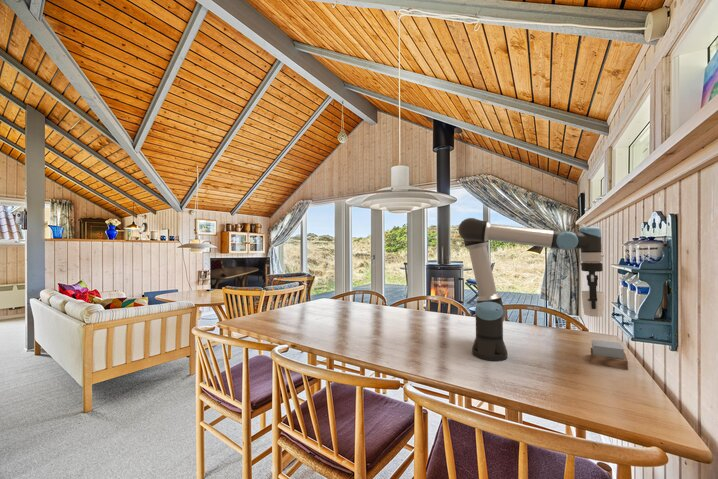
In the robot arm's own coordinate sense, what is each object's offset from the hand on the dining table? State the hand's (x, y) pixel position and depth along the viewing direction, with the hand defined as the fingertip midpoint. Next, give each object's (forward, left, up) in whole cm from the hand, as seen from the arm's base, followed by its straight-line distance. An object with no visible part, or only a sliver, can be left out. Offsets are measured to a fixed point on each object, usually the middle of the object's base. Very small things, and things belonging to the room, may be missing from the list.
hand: (593, 314), depth 137 cm
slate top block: (+4, +1, -17) cm, 17 cm away
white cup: (0, 0, 0) cm, 0 cm away
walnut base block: (+5, +1, -21) cm, 21 cm away
